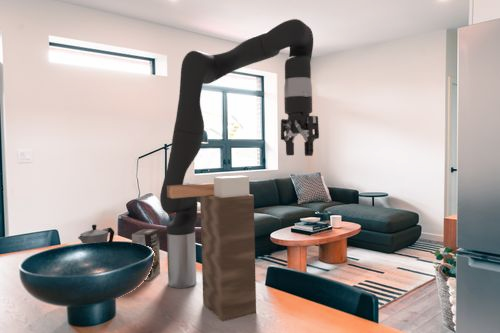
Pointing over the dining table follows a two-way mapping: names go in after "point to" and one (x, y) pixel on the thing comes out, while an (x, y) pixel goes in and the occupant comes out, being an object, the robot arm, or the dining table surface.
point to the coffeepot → (96, 235)
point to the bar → (190, 190)
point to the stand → (228, 255)
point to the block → (231, 186)
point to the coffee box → (152, 240)
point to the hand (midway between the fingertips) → (299, 155)
